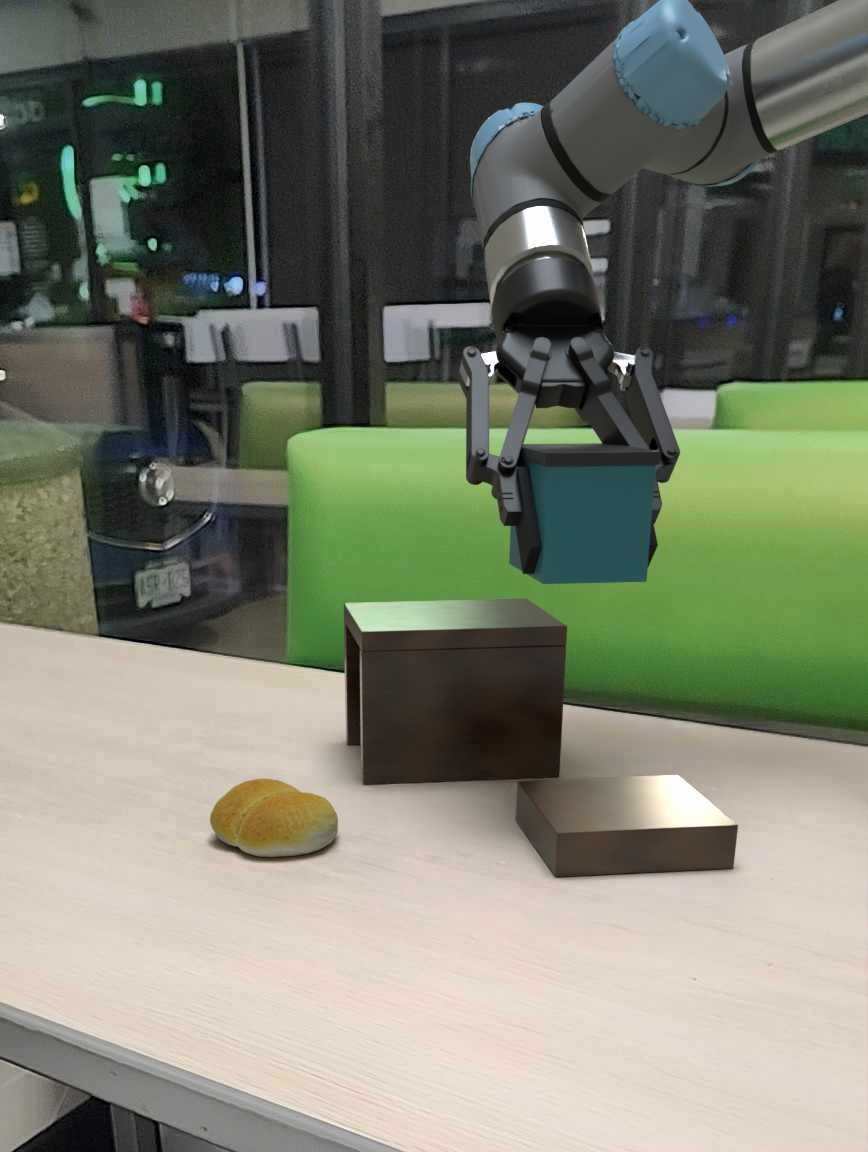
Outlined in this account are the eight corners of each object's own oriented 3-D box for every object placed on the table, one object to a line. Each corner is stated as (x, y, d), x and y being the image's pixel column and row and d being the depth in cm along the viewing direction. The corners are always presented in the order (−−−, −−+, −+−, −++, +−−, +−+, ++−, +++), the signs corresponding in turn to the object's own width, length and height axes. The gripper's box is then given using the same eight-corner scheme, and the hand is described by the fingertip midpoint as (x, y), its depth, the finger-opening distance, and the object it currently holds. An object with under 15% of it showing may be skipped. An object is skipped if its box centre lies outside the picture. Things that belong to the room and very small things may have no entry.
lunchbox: (605, 561, 96) (613, 443, 93) (650, 582, 87) (661, 451, 83) (505, 563, 95) (509, 444, 92) (540, 584, 86) (546, 452, 82)
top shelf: (521, 734, 120) (527, 598, 115) (559, 776, 107) (567, 625, 102) (345, 740, 118) (343, 602, 113) (363, 784, 105) (361, 631, 100)
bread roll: (273, 869, 87) (271, 811, 86) (193, 837, 93) (190, 783, 92) (365, 841, 93) (365, 785, 91) (284, 812, 99) (282, 760, 97)
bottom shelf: (674, 813, 98) (678, 774, 97) (733, 868, 87) (738, 824, 86) (515, 820, 97) (516, 780, 95) (555, 877, 86) (557, 833, 85)
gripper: (661, 338, 100) (717, 591, 92) (400, 338, 98) (433, 598, 89) (692, 252, 93) (755, 519, 85) (411, 250, 91) (448, 524, 83)
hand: (589, 559), depth 87 cm, fingers closed on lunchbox, 7 cm apart
